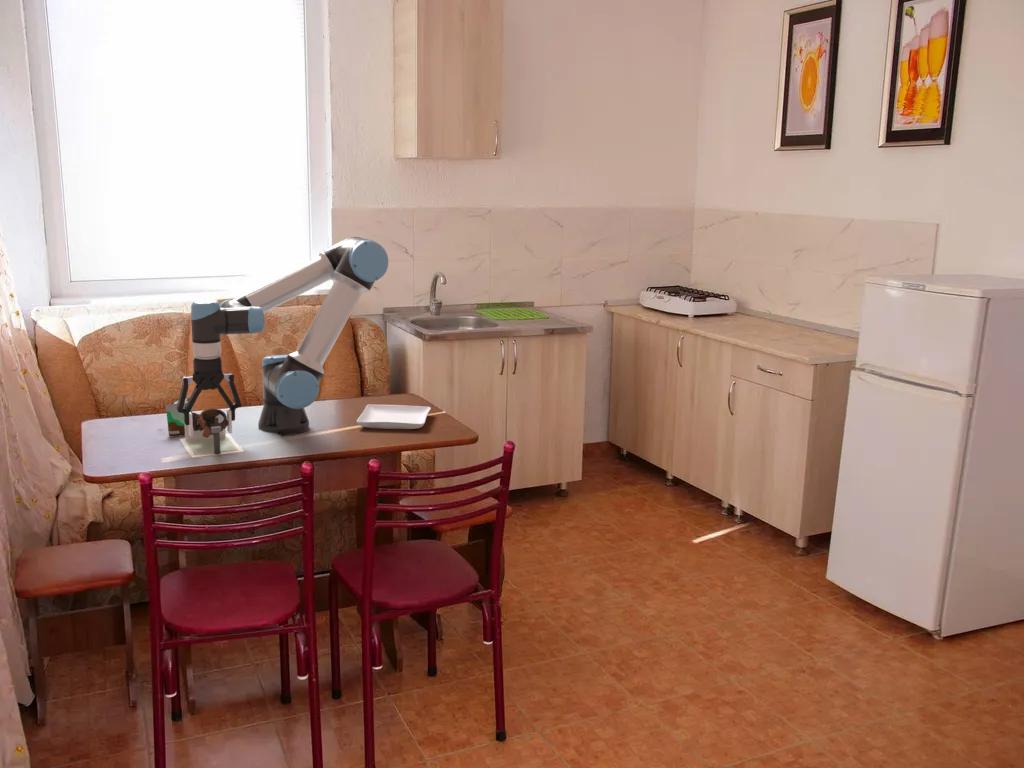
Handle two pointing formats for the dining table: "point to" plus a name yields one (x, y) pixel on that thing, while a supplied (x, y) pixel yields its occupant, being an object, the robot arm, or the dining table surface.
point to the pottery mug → (208, 421)
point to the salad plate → (393, 416)
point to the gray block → (216, 438)
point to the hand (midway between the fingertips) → (210, 433)
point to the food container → (176, 418)
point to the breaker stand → (208, 443)
